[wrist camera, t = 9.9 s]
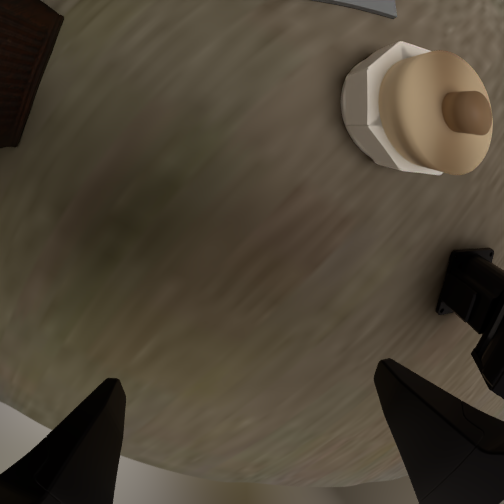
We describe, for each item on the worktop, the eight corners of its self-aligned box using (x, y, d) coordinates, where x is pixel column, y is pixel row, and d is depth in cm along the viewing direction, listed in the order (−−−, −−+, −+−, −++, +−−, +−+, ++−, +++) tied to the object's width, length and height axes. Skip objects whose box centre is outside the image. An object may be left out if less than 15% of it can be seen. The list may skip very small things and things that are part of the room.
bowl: (431, 70, 16) (465, 65, 13) (430, 168, 19) (464, 178, 16) (338, 47, 16) (364, 31, 12) (338, 160, 19) (365, 167, 15)
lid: (461, 73, 13) (511, 69, 9) (460, 171, 16) (510, 187, 11) (376, 46, 12) (424, 26, 8) (377, 162, 15) (427, 175, 11)
